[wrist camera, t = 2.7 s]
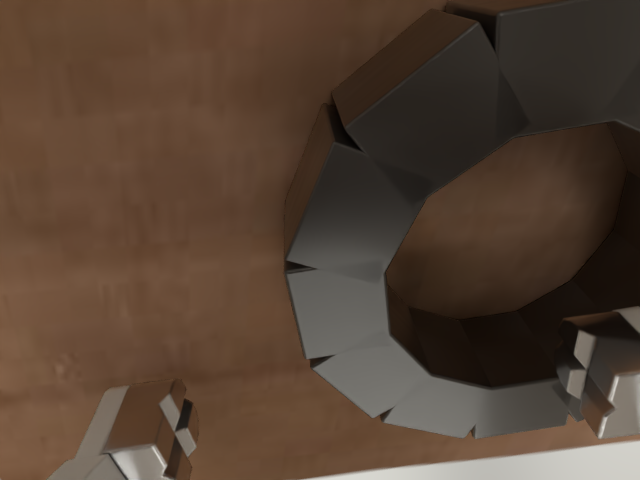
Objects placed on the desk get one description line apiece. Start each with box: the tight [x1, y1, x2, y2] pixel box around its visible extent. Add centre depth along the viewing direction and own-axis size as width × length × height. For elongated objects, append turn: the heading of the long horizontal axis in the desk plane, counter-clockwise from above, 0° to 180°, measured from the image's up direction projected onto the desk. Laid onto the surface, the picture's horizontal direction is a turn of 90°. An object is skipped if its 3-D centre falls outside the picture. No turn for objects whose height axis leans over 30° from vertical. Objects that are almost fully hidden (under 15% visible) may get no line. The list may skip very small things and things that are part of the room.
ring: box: [284, 0, 640, 439], centre depth 12 cm, size 12×12×3 cm
